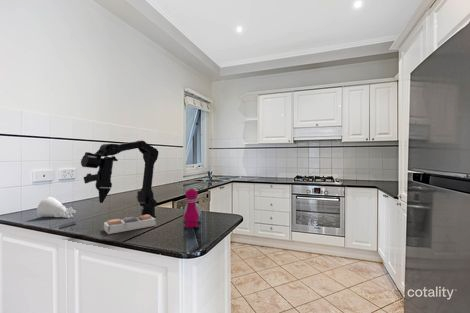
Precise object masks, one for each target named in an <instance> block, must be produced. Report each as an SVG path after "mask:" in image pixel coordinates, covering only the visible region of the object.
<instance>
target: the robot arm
mask: <svg viewBox="0 0 470 313" xmlns="http://www.w3.org/2000/svg"><path fill="white" fill-rule="evenodd" d="M135 149H138V151H139V152H140V153H141V154H142V158H143V161H144V167H143V168H144V171H143V176H142V177H143V178H142V179H143V180H142V187H141V189H140V190H138V191H137V197H136V199H137V203H139V206H140V207H141V210H140V215H147V214H148V215H150V216H151V217H153V218H157V216H156V207H157V206H158V201H157V200H156V199H154V198H155V197H154V191H153V189H152V185H153V178H154V168H155V163H156V162H157V160H158V158H159V150H158V149H157V147H156V148H155V147H153V145H151V144H149V143H148V142H146V141H144V140H137V141H131V142H124V143H103V144H101V145H100V146H99V149H98V150H97V151H96V152H95V153H92V152H89V151H87V152H84V155H83V156H82V158H81V159H80V165H81V166H82V168H88V169H89V168H90V169H98V171H97V172H96V173H95V174H92V173H86V176H83V181H84V184H88V183H91V182H95V189H96V190H97V191H98V202H99V203H100V204H103V203H104V201H105V199H106V198H107V197H108V195H109V193H110V191H111V188H112V187H113V183H112V174H113V168H114V167H113V166H114V162H118V160H119V159H118V158H116V156H115V155H118V154H120V153H121V152H124V151H130V150H135ZM109 156H110V157H109Z"/></svg>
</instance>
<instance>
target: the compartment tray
mask: <svg viewBox="0 0 470 313" xmlns="http://www.w3.org/2000/svg"><path fill="white" fill-rule="evenodd" d="M135 217H136V216H135ZM136 218H137V221H136V222H130V223H125V222H124V218H123V219H120V220H121V224H118V225H111V226H109V225H108V221H103V230H104V231H105V233H106V234H108V235H111V234H116V233H117V234H118V233H121V232H128V231H132V230H134V231H135V230H138V229H144V228H149V227H155V226H156V224H157V223H156V222H157V221H156V220H157V219H156V217H151V219H149V220H142V221H141V220H139V216H137V217H136Z"/></svg>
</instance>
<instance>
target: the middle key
mask: <svg viewBox="0 0 470 313" xmlns="http://www.w3.org/2000/svg"><path fill="white" fill-rule="evenodd" d="M123 219H124V222H125V223H130V222H136V221H137V218H136V216H127V217H123Z"/></svg>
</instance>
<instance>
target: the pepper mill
mask: <svg viewBox="0 0 470 313" xmlns="http://www.w3.org/2000/svg"><path fill="white" fill-rule="evenodd" d="M198 196H199V194H198V191H197V190H196V189H195V188H194V186H193V185H190V186H189V188H188V189H187V190H186V191H185V197H186V204H187V210H186V212H185V214H184V215H183V220H184V221H185V222H184V227H185V228H186V227H187V229H194V228H193V227H195V228H197V227H198V226H199V222H198V220H200V216H199V215H198V212H197V210H196V203H197V197H198Z"/></svg>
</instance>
